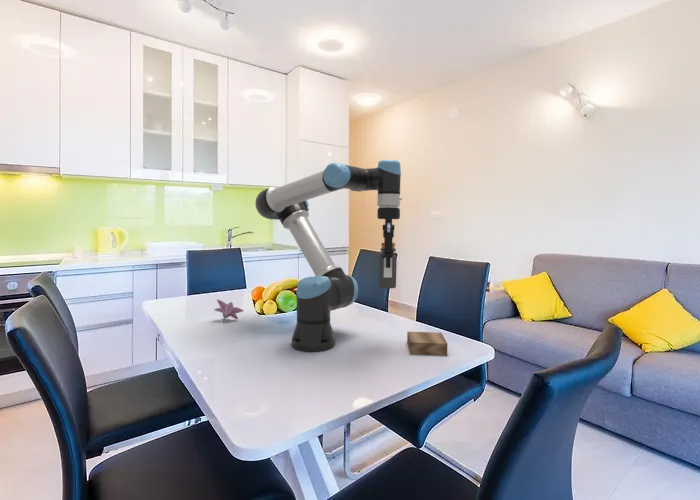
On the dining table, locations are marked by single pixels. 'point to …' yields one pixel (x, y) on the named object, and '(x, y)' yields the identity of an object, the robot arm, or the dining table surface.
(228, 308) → the lily
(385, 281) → the bottle
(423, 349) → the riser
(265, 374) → the dining table surface
